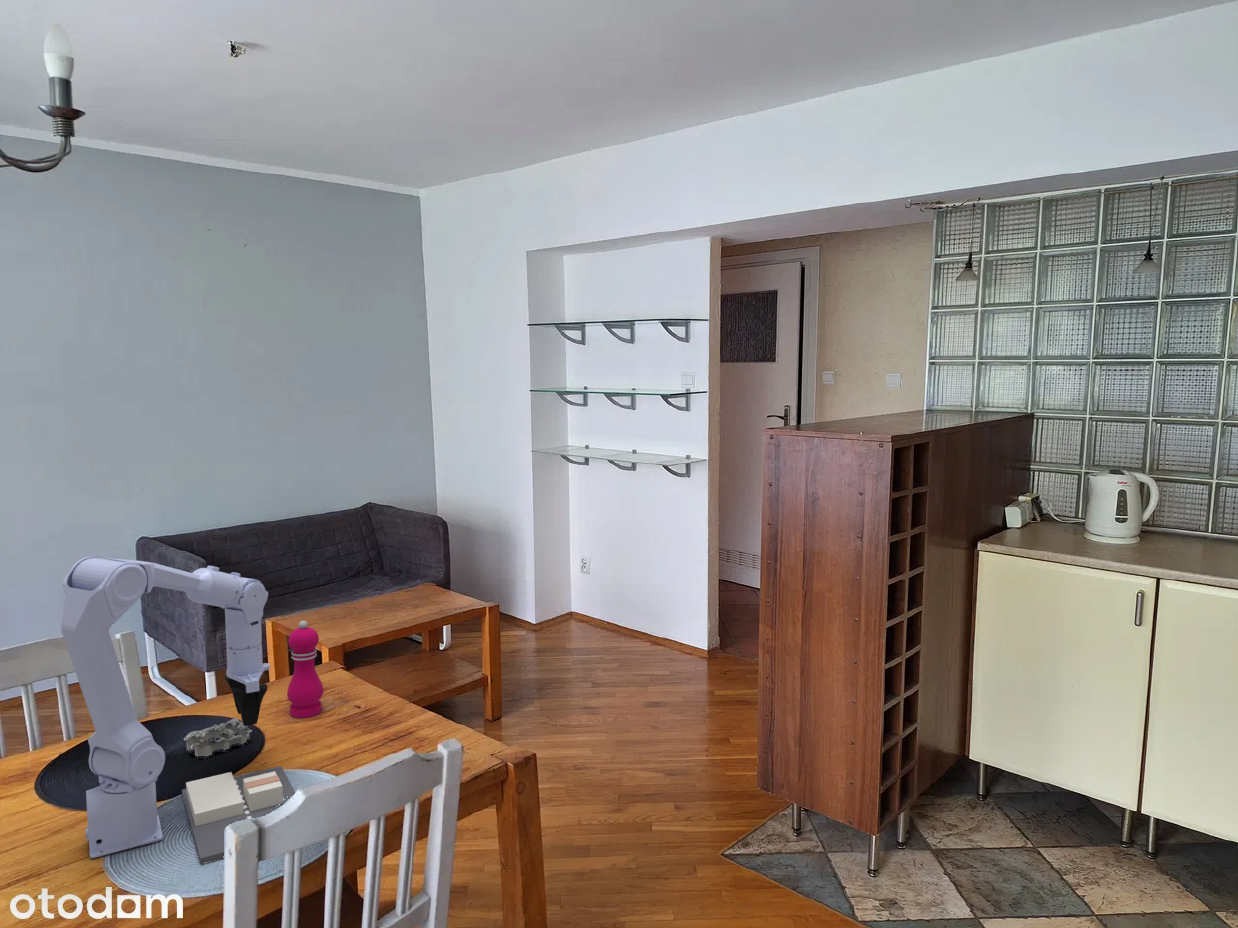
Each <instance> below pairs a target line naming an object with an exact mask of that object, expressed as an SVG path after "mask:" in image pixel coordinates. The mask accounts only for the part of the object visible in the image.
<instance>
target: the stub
mask: <svg viewBox="0 0 1238 928" xmlns="http://www.w3.org/2000/svg"><path fill="white" fill-rule="evenodd" d="M243 785H244V797H245V800H246V802H247V805H248V807H249V809H250V812H251V811H255V810H259V809H263V808H266V807H270V806H274V805H278V804H282V803H283V788H282V784H281V782H280V779H279V777H278V775H277V774H276V772H275V771H274V772H270V773H266V774H262V775H257V776H253V777H249V778H245V779H243Z"/></svg>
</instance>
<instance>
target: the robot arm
mask: <svg viewBox="0 0 1238 928" xmlns="http://www.w3.org/2000/svg"><path fill="white" fill-rule="evenodd" d="M219 570H220V568H219V567H217V566H213V565H207V567H200V568H198V569H196V570H193V572H190V571H184V570H182V569H178V568H174V567H170V566H166V565H162V564H159V563H155V562H149V561H143V560H136V559H125V558H113V557H112V558H109V557H108V558H101V557H98V556H92V555H91V556H86V557H82V558H80V560H77V561H76V562H75V563H74V564H73V566H71V568H70V569H69V571H68V572H67V574H66V575H65V577H64V578H63V580H62V581H61V585H62V588H63V592H64V594H65V598H64V605H63V612H62V618H61V619H62V620H61V625H60V626H61V627H60V630H61V633H62V636H63V640H64V643H65V645H66V649H67V651H68V655H69V659H70V660H71V662H72V666H73V669H74V672H75V676H76V678H77V681H78V683H79V684H78V685H79V687H80V689H81V692H82V695H83V699H84V700H85V704H86V707H87V710H88V713H89V715H90V718H91V721H92V724H93V727H94V732H93V733H92V734H91V736H89V738H88V740H87V742H88V745H89V756H88V766H89V769H90V770H91V771H92V773H94V774H95V775H96V776H98V783H99V784H100V785H98V786H97V787H94V788H90V789H88V790H85V795H86V797H85V798H86V799H85V800H86V814H87V827H85V840H86V841H88V845H89V846H88V847H89V858H90V859H95V858H99V857H103V856H106V855H110V854H114V853H118V852H122V851H125V850H128V849H133V848H135V847H136V848H137V847H140V846H145V845H148V844H152V843H156V842H159V841H162V840H163V838H164V835H163V831H162V826H161V821H160V816H159V815H158V809H157V808H158V805H157V789H156V787H157V785H156V781H158V777H159V776H160V774H161V772H162V771H163V769H164V766H165V763H166V762H165V761H166V753H165V751H164V749H163V747H162V746H161V745H158V744H157V743H156V742H155V740H154V737H153V735H152V732H150V730H148V728H147V727H146V726H144V725H143V724H142V723H141V722H140V721H139V720H138V718H137V717H138V716H137V715H136V712H135V709H134V708H135V707H134V705H133V703H132V700H131V695H130V693H129V690H128V686H127V683H126V680H125V677H124V675H123V671H122V668H121V665H120V662H119V659H118V655H117V653H116V652H117V651H116V649H115V646H114V642H113V640H112V638H111V634H110V628H112V625H115V624H116V622H117V621H118V620H120V618H122V616H123V615H125V614H126V612H127V611H128V610H130V609H131V607H133V606H134V604H136V603H137V601H138V600H139V599H140V598H141V597H142V596H143V594H144V593H145V594H149V593H150V592H152V589H153V588H154V587H155V588H156V587H157V588H163V589H169V590H174V591H180V592H181V591H182V592H185V594H186V597H187V598H188V600H190V602H193V603H197V604H204V605H209V606H212V607H219V608H222V610H223V609H224V619H225V621H224V623H225V641H226V642H225V643H226V645H225V646H226V666H227V667H226V670H225V673H226V675H225V676H224V679H225V681H226V682H227V684H228V685H229V687H230V691H231V693H232V697H233V702H234V705H235V709H236V712H237V714H238V715H240V717H241V721H242V723H243V724H244V726H248V727H249V726H252V725H257V724H258V721H259V717H260V710H261V706H262V702H263V699H264V696H265V695H266V692H267V690H268V685H267V684H266V683H263V684H260V680H261V677H262V676H263V674H264V672H265V671H269V670H271V665H270V663H267V662H266V663H265V662H264V663H263V661H264V660H263V637H262V636H263V635H262V633H263V632H262V618H263V616H264V607H265V605H266V603H267V601H268V597H269V591H267V590H266V588H265V586H264V583H262V581H260V580H259V579H255V578H248V577H242V576H241V573H238V572H230V573H227V572H224V571H219Z"/></svg>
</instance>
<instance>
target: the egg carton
mask: <svg viewBox="0 0 1238 928" xmlns="http://www.w3.org/2000/svg"><path fill="white" fill-rule="evenodd" d="M252 732H253V729H250V728H249V726H244V724H243V721H242V720H241V721H240V720H239V719H238V718H237V717H234V718H232V719H230V720H228V721H226V722H222V723H219V725H218V724H214V725H212V726H210V727H206V728H204V729H202V730H201V729H200V730H194V731H190V732H189V733H187V735H186V736H185V737H184V738H183V741H185V744H186V751H187V750H188V751H191V750H195V753H194V757H195V756H197V757H198V756H206V757H207V756H209V755H212V752H213V751H215V750H219V749H223V750H226V749H229V748H230V745H232V744H236V743H238V744H239V743H240V744H243V743H245V742H246V741H247V739H250V733H252ZM236 733H238V735H236V736H235V735H234V734H236ZM211 738H215V739H211ZM216 738H220V739H219V740H216ZM208 739H210V740H208ZM230 749H231V748H230ZM212 756H213V755H212Z"/></svg>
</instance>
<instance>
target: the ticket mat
mask: <svg viewBox="0 0 1238 928" xmlns="http://www.w3.org/2000/svg"><path fill="white" fill-rule="evenodd" d="M274 771H275V772H276V774H277V775H278V777H279V779H280V782H281V784H282V788H283V797H284V799H286V800H284V801H283V803H282V804H280V805H279V804H278V805H279V806H278V805H274V806H270V807H266V808H263V809H259V810H255V811H251V812H250V809H249V807H248V805H247V802H246V800H245V797H244V785H243V779H245V778H249V777H253V776H257V775H262V774H266V773H270V772H274ZM295 793H296V791H295V790H294V788H293V786H292V784H291V782H290V780H289V778H288V777H287V775H286V773H285V771H284V769H283V767H282V765H280V766H276V767H271V768H268V769H263V770H259V771H254V772H250V773H246V774H242V775H238V776H233V773H232V771H230V772H224V773H221V774H217V775H216V774H215V775H212V776H209V777H204V778H200V779H195V780H190V781H187V782H185V788H184V789H181V796H183V797H182V799H183V798H184V801H183V803H184V802H185V804H184V807H185V806H186V808H185V811H186V810H187V812H186V815H187V814H188V816H187V818H189V819H188V822H189V821H190V823H189V826H190V825H191V827H190V829H192V831H191V834H192V833H193V835H192V838H193V837H194V838H193V842H194V841H195V842H194V845H195V844H196V846H195V850H196V849H197V850H196V853H197V856H199V857H198V860H200V861H199V864H202V865H204V864H203V863H205V862H209V861H213V860H216V861H220V860H222V859H224V858H223V856H224V829H225V827H226V826H228V825H229V824H232V823H234V822H236V821H241V820H245V819H250V818H257V817H261V816H265V815H266V814H269V813H271V812H272V811H274V810H276V809H277V808H279V807H280V806H282V805H283V804H284V803H285V802H286V801H287V800H288V799H290V797H291V796H293V795H294V794H295ZM287 796H288V798H287ZM276 806H277V807H276ZM218 859H219V860H218ZM213 862H214V861H213ZM209 863H210V862H209Z"/></svg>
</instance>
